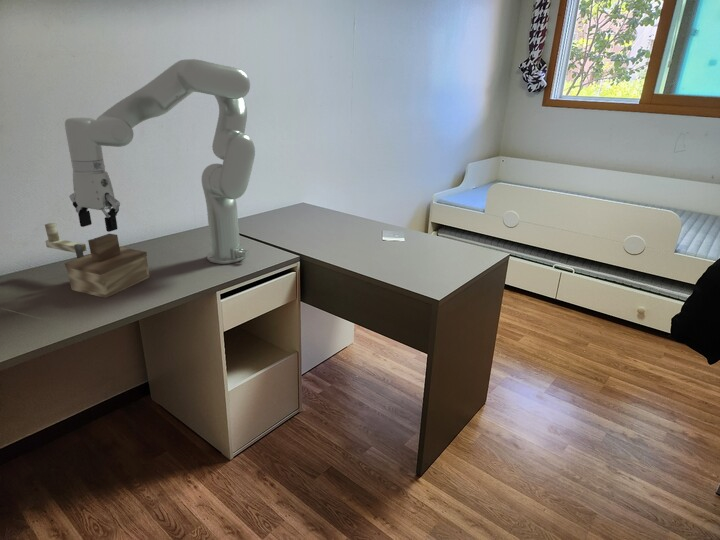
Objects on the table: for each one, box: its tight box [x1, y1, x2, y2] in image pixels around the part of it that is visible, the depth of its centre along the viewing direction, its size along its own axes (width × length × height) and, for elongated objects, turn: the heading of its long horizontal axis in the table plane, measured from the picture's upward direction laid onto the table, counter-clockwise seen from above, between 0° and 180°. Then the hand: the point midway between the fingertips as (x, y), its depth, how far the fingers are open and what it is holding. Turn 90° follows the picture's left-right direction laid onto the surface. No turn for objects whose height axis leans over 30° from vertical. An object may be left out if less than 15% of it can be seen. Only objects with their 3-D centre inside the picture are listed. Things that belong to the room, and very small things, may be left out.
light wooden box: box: [66, 239, 150, 299], centre depth 136 cm, size 15×16×12 cm
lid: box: [64, 233, 148, 275], centre depth 134 cm, size 13×16×8 cm
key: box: [44, 222, 87, 254], centre depth 139 cm, size 13×3×7 cm, turn 69°
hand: (99, 228), depth 131 cm, fingers open, 9 cm apart
